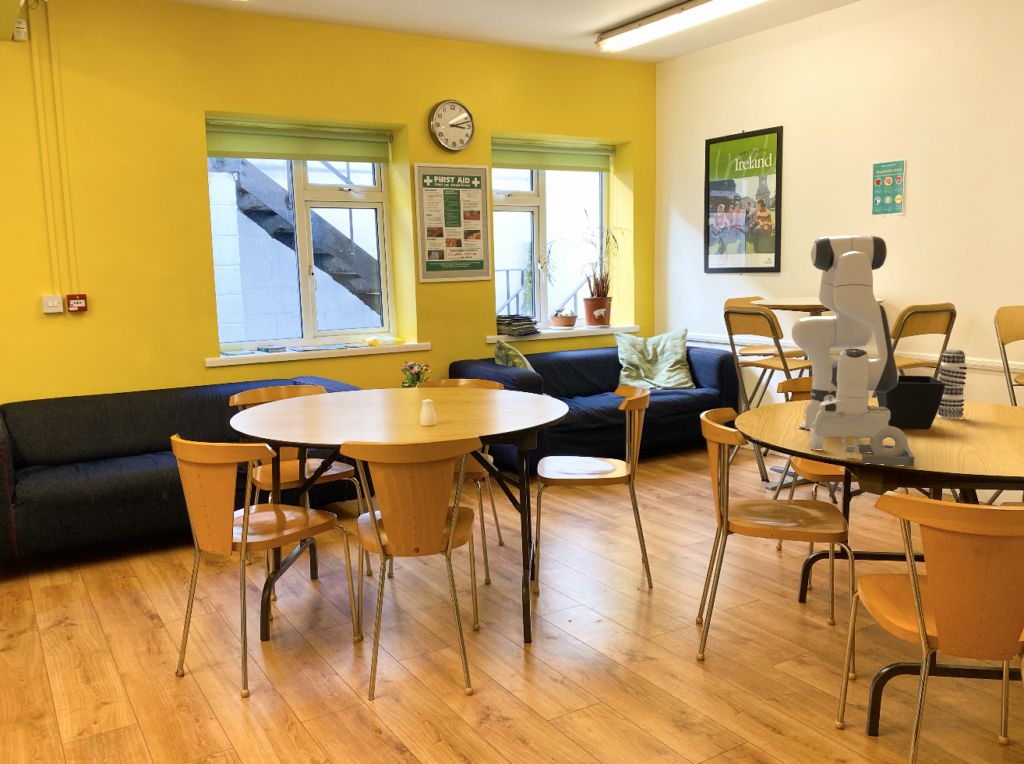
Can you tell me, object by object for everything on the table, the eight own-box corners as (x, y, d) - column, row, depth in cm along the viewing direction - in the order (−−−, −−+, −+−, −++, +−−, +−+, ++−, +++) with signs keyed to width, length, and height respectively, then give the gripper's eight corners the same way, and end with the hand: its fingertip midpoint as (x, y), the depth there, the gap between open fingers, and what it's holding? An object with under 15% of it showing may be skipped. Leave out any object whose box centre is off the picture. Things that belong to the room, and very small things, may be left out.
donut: (907, 460, 239) (909, 426, 238) (906, 463, 236) (908, 428, 235) (869, 457, 244) (871, 423, 242) (868, 459, 241) (869, 425, 239)
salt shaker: (810, 447, 258) (811, 419, 256) (822, 448, 256) (823, 420, 255) (810, 450, 254) (811, 421, 253) (822, 451, 253) (823, 422, 252)
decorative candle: (957, 415, 312) (961, 349, 309) (968, 419, 303) (972, 351, 300) (932, 415, 313) (935, 349, 310) (942, 419, 304) (946, 351, 301)
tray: (858, 452, 251) (859, 442, 250) (906, 454, 246) (907, 444, 246) (862, 464, 235) (862, 453, 235) (913, 467, 231) (914, 456, 230)
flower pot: (943, 431, 281) (946, 382, 279) (883, 430, 285) (886, 381, 283) (927, 422, 299) (930, 375, 297) (871, 420, 303) (873, 375, 301)
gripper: (889, 405, 242) (887, 451, 243) (814, 402, 248) (813, 448, 250) (892, 408, 236) (889, 456, 237) (815, 405, 242) (813, 452, 244)
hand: (849, 452), depth 244 cm, fingers closed
